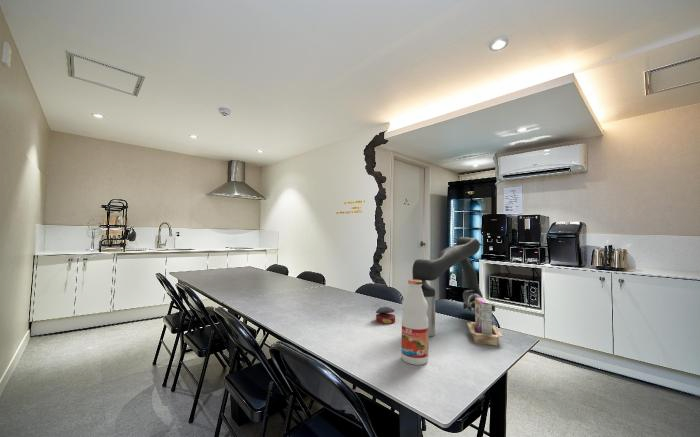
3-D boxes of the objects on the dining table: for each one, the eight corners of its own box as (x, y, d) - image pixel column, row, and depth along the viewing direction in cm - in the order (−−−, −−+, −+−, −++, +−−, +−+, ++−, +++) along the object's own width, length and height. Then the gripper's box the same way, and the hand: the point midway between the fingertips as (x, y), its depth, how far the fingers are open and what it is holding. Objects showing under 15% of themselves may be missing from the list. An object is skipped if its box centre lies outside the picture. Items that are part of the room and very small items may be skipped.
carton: (471, 343, 119) (471, 333, 119) (467, 330, 136) (466, 321, 136) (503, 347, 115) (503, 337, 116) (494, 333, 132) (494, 324, 133)
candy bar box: (474, 333, 132) (474, 297, 133) (486, 334, 131) (486, 297, 132) (480, 342, 121) (480, 302, 122) (493, 343, 120) (493, 303, 121)
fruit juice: (433, 360, 102) (433, 280, 104) (418, 368, 96) (419, 283, 97) (411, 352, 109) (411, 277, 110) (395, 359, 102) (396, 279, 104)
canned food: (376, 331, 145) (368, 313, 148) (385, 324, 153) (377, 307, 156) (394, 325, 139) (384, 306, 142) (402, 318, 148) (393, 300, 150)
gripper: (461, 293, 153) (464, 300, 138) (490, 296, 149) (497, 303, 133) (461, 308, 153) (464, 316, 137) (491, 310, 148) (497, 319, 133)
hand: (480, 309), depth 135 cm, fingers open, 8 cm apart
